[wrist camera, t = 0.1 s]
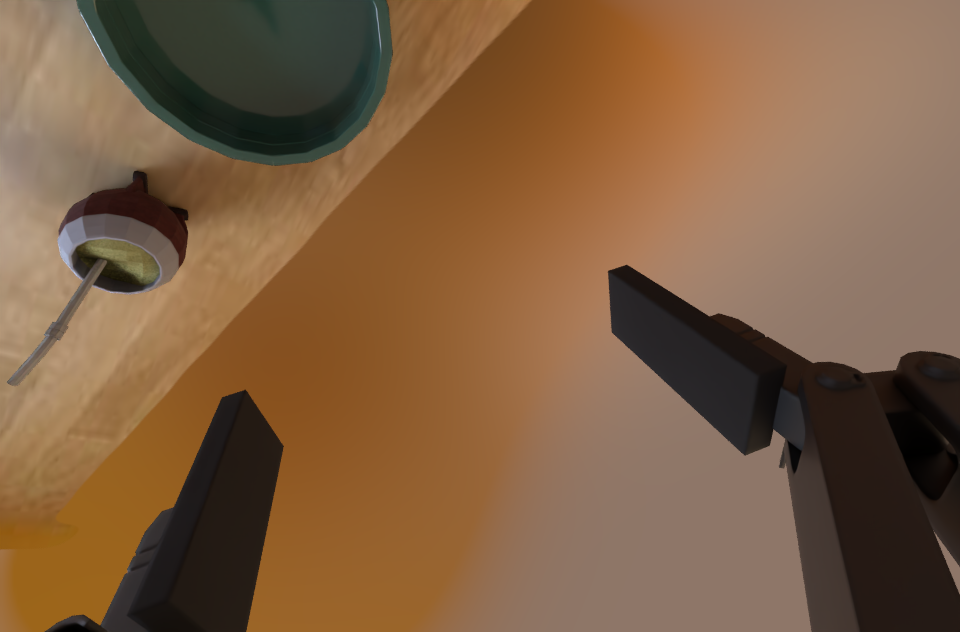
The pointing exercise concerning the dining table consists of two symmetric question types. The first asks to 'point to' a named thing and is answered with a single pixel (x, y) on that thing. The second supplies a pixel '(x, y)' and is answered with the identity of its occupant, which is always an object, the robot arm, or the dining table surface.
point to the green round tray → (251, 69)
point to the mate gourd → (115, 250)
